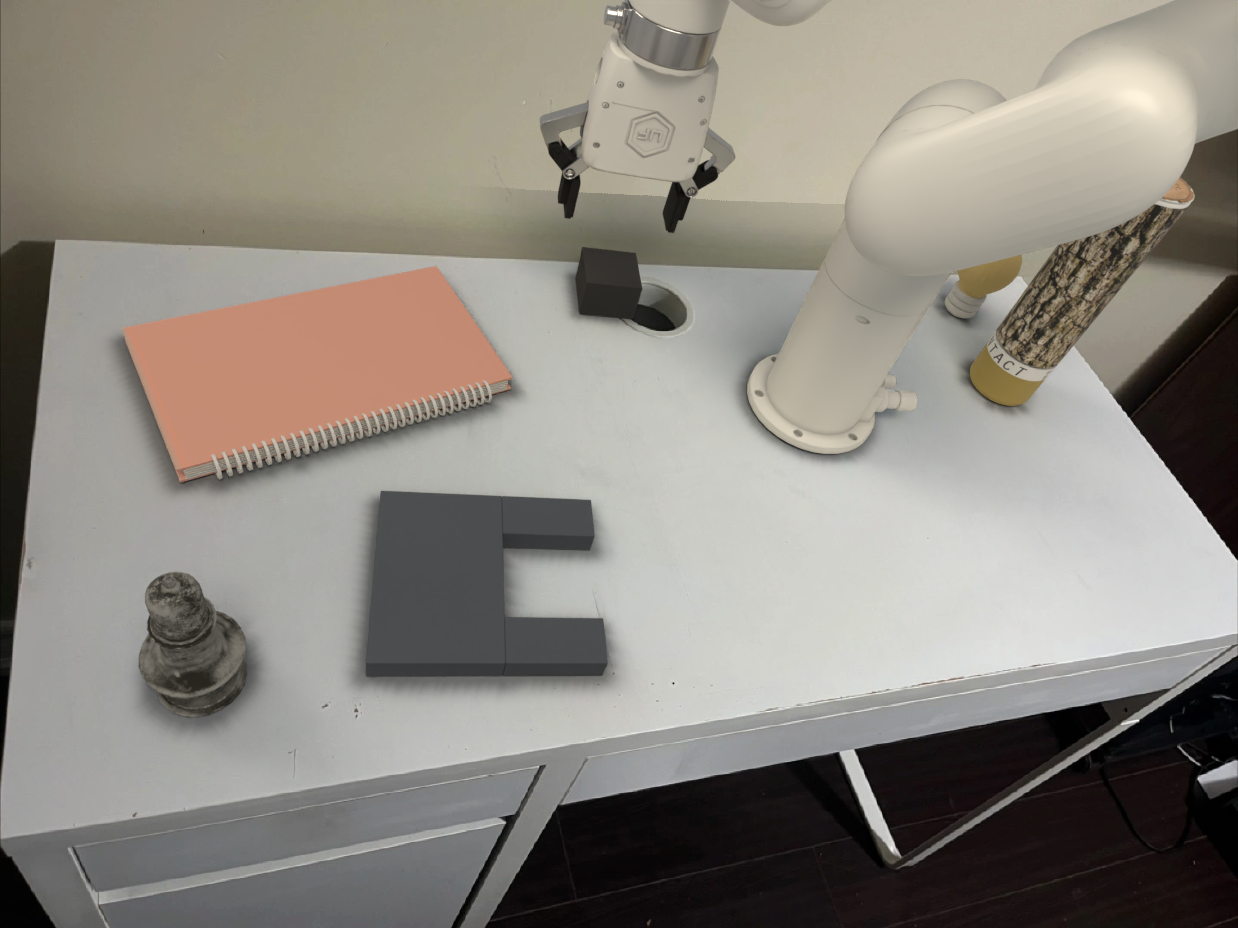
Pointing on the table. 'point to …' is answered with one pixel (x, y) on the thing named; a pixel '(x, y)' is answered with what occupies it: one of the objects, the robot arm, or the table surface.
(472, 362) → the notebook
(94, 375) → the table surface
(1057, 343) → the paper tube
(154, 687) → the chess piece
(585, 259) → the pad piece
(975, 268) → the light bulb
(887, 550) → the table surface
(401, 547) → the gray notched slab
